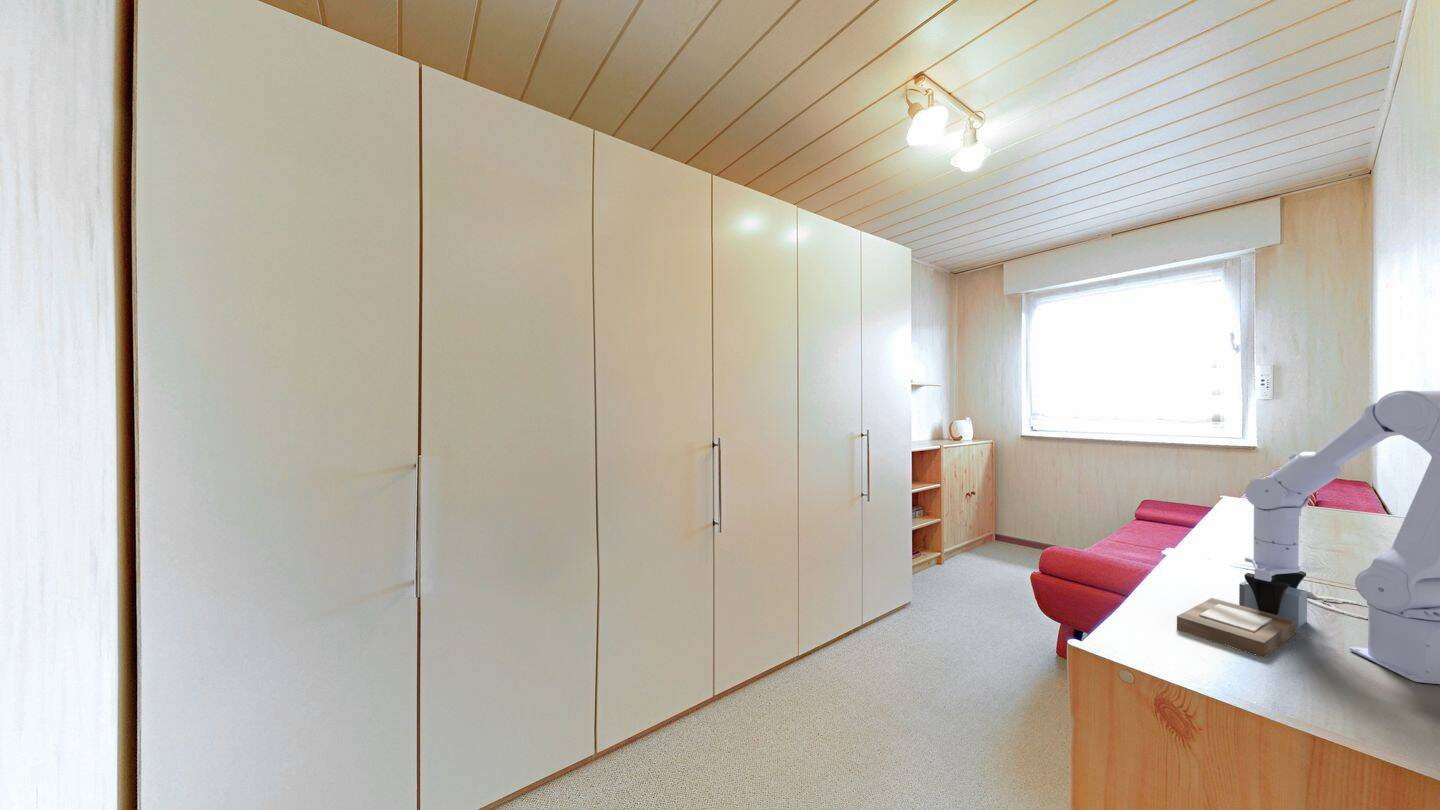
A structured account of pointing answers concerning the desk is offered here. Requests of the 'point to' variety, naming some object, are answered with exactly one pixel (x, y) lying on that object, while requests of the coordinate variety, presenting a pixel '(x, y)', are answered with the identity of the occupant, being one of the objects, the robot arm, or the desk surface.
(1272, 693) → the desk surface
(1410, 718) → the desk surface
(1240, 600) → the block
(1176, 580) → the desk surface
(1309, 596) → the pliers
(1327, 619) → the desk surface
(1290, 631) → the stand
